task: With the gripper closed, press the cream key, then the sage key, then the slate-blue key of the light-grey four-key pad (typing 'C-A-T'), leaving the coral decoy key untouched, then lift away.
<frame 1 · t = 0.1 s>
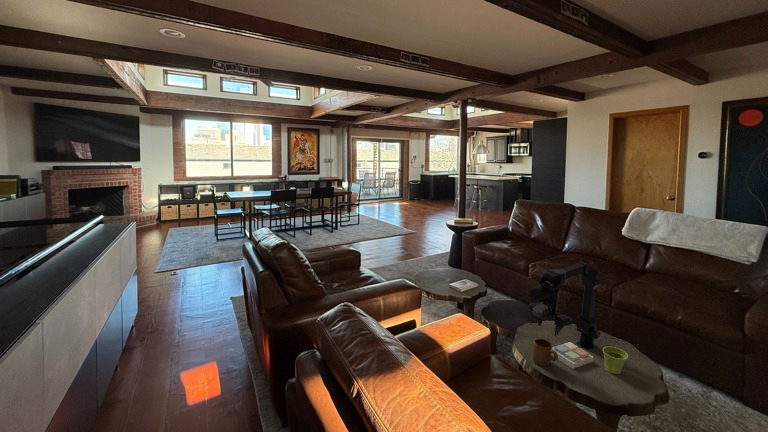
hand: (547, 330, 165), 15 cm above the table, fingers open, 9 cm apart
key slate: (561, 349, 170), point 3 cm above the table, slide at 0.0 cm
plant pot: (612, 370, 160), on the table
keypad: (570, 357, 169), on the table
mug: (544, 364, 164), on the table
key cream: (570, 347, 172), point 3 cm above the table, slide at 0.0 cm
key sage: (572, 356, 165), point 3 cm above the table, slide at 0.0 cm
key coral: (580, 353, 167), point 3 cm above the table, slide at 0.0 cm
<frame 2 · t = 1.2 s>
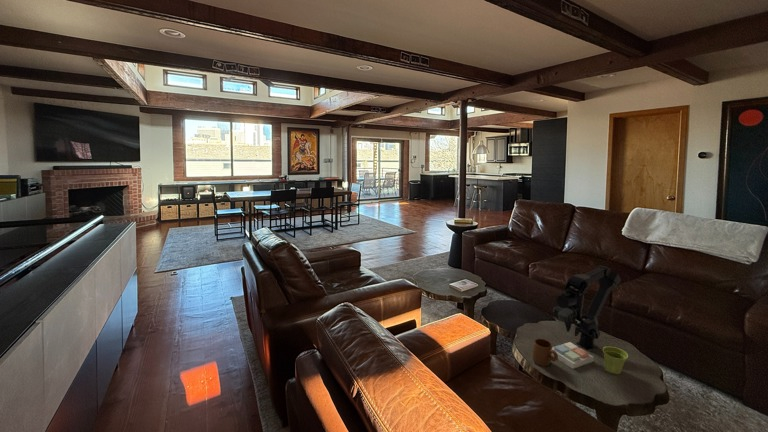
hand: (571, 333, 170), 10 cm above the table, fingers open, 4 cm apart
nothing on the table moved.
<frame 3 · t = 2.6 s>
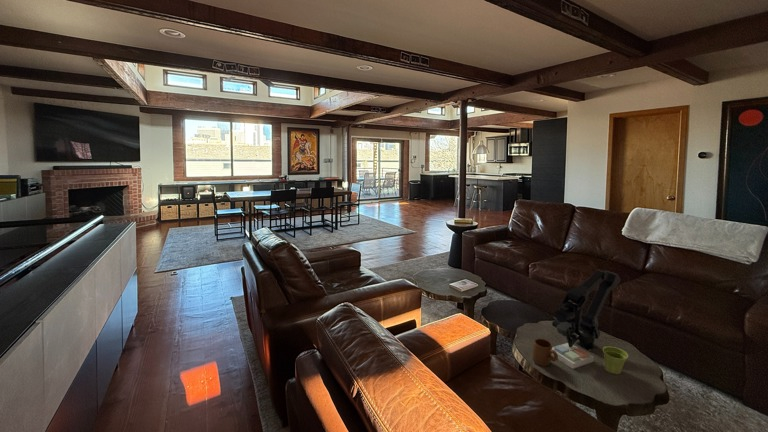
hand: (570, 346, 172), 3 cm above the table, fingers closed, pressing on key cream
key cream: (570, 348, 172), point 2 cm above the table, slide at 0.8 cm, touching gripper
everything else where it was.
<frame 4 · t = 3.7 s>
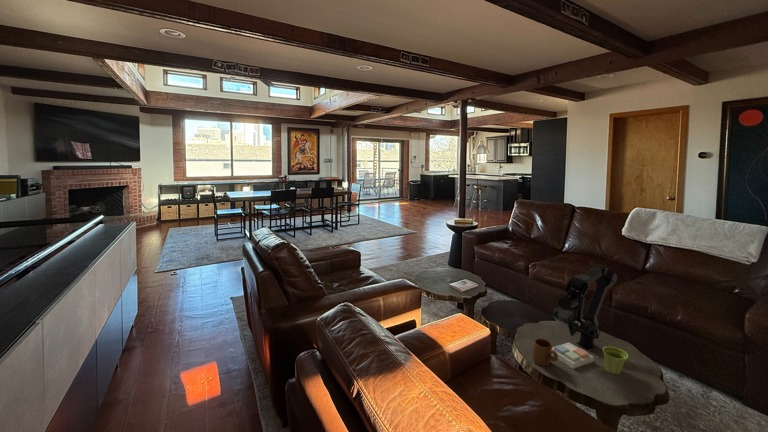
hand: (572, 335, 168), 10 cm above the table, fingers closed
key cream: (569, 349, 172), point 2 cm above the table, slide at 1.3 cm
everything else where it was.
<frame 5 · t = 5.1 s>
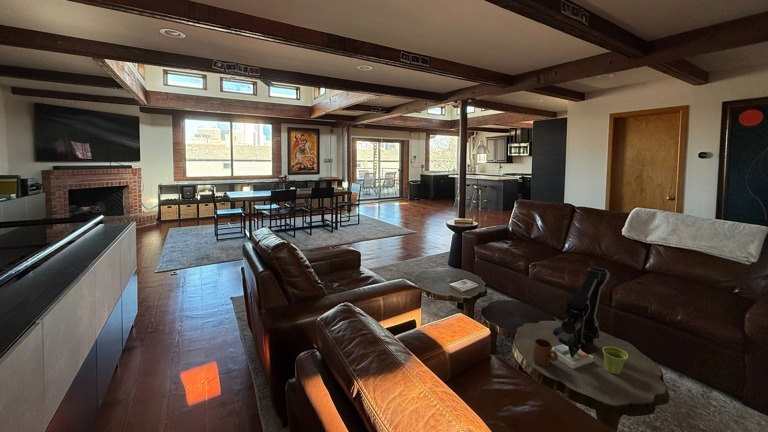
hand: (572, 356, 165), 3 cm above the table, fingers closed, pressing on key sage
key sage: (571, 358, 165), point 2 cm above the table, slide at 1.1 cm, touching gripper
everything else where it was.
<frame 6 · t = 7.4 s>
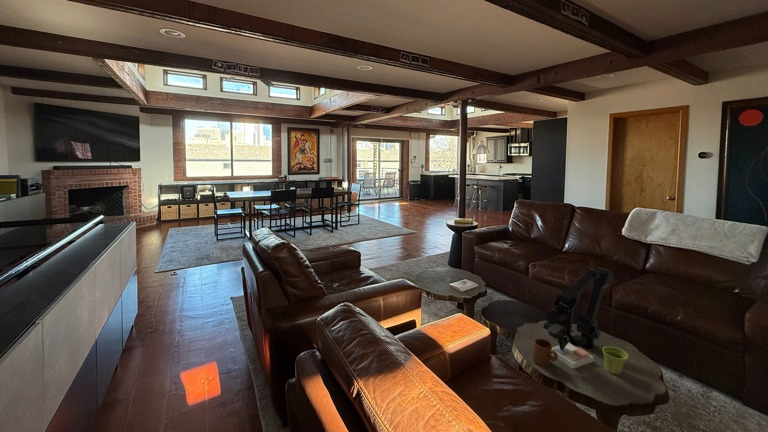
hand: (561, 349, 170), 3 cm above the table, fingers closed, pressing on key slate
key slate: (561, 351, 170), point 2 cm above the table, slide at 0.8 cm, touching gripper
key sage: (571, 359, 165), point 2 cm above the table, slide at 1.2 cm
everything else where it was.
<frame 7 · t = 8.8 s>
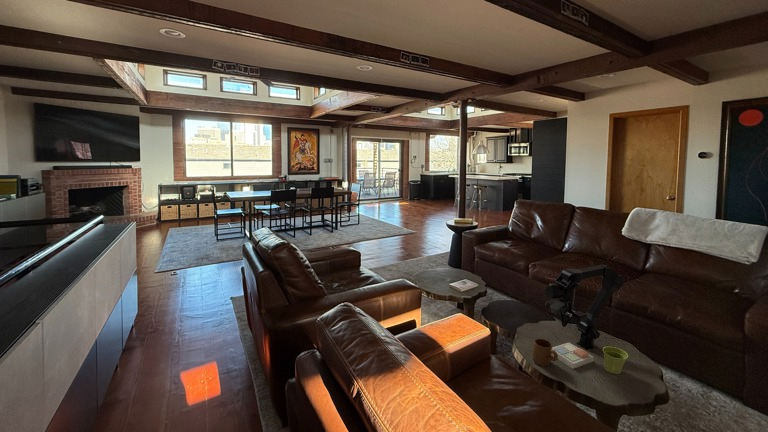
hand: (563, 326, 173), 12 cm above the table, fingers closed
key slate: (561, 352, 170), point 2 cm above the table, slide at 1.2 cm
everything else where it was.
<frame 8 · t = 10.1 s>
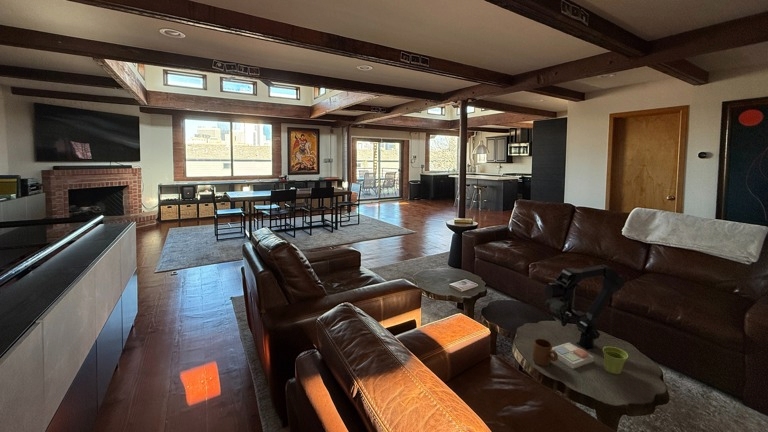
hand: (563, 326, 173), 12 cm above the table, fingers closed
nothing on the table moved.
at the end: key cream slide at 1.3 cm; key slate slide at 1.2 cm; key coral slide at 0.0 cm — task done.
